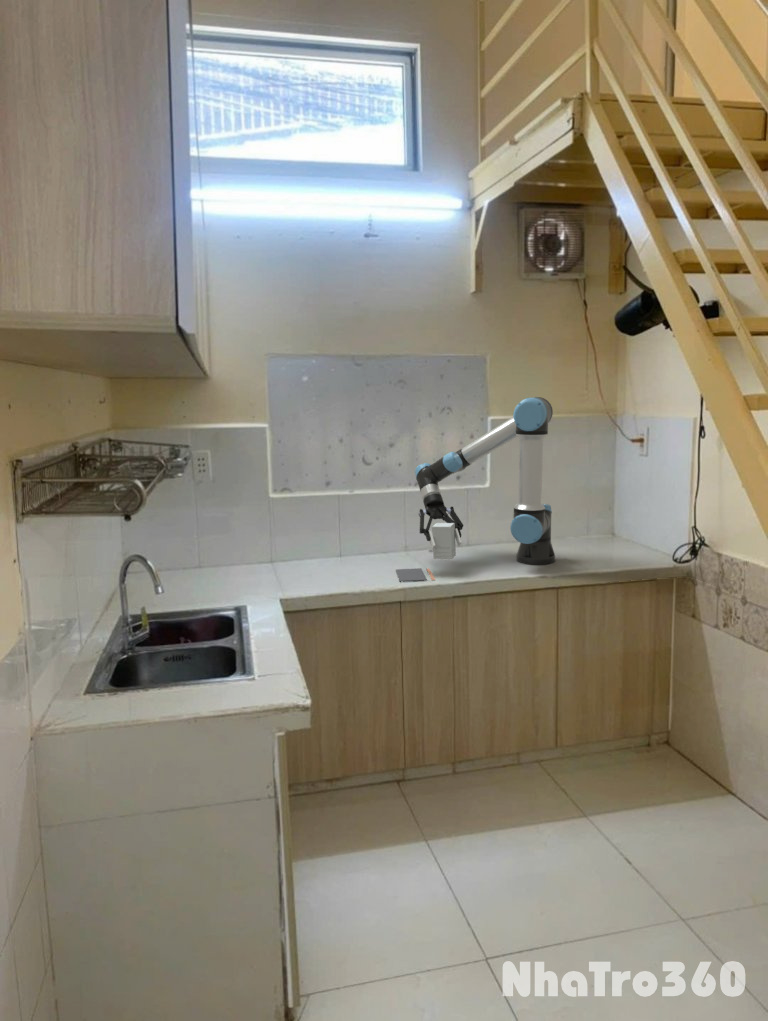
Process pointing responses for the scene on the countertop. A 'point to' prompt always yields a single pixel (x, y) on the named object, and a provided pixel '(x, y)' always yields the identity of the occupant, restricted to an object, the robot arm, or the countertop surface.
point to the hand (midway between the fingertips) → (446, 546)
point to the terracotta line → (430, 574)
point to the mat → (410, 574)
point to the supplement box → (444, 540)
